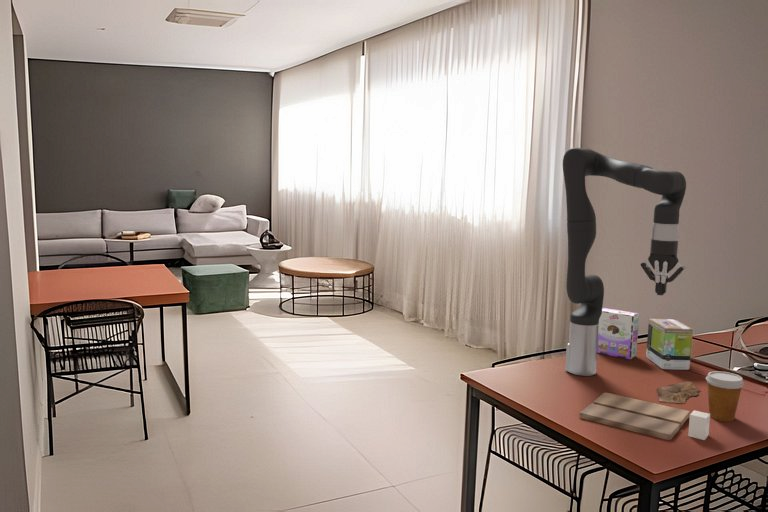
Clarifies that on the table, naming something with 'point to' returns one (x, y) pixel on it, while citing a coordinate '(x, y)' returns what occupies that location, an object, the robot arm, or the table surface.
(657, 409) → the board
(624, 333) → the candy box
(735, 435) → the table surface
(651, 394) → the table surface
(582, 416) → the floor board
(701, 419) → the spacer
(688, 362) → the tea box
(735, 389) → the disposable coffee cup
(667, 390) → the flat brown piece
